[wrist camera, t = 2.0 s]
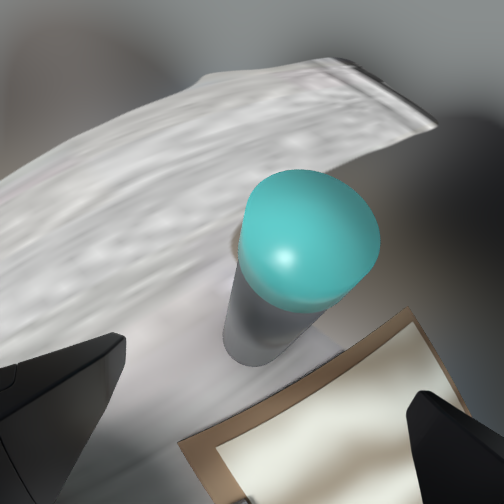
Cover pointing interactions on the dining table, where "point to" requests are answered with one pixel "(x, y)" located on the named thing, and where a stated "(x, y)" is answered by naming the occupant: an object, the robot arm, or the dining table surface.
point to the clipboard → (330, 429)
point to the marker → (295, 260)
